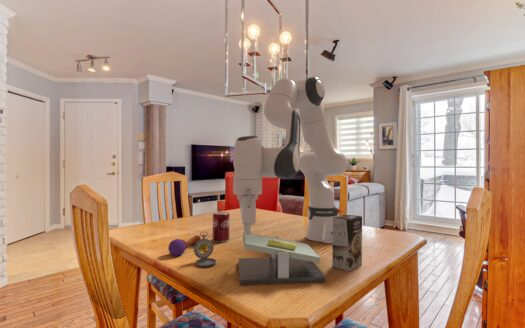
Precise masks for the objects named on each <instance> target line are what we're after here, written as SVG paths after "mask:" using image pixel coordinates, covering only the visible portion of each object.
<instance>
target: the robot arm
mask: <svg viewBox="0 0 525 328" xmlns="http://www.w3.org/2000/svg"><path fill="white" fill-rule="evenodd" d="M324 98H325V86H324V83H323V82H322V80H321V79H320V78H319V77H317V76H316V77H314V76H312V77H307V78H304V79H299V80H295V81H293V80H292V79H290V78H280V79H279V80H277V81H276V82H275V83H274V85H273V86H272V88H271V89H270V91H269V93H268V96H267V98H266V101H265V104H264V107H263V113H264V117H265V119H266V120H267V121H268V122H269V123H270V124H271V125H273V126H274V127H277V128H279V129H280V128H281V129H284V130H285V141H284V145H282V146H280V147H279V146H278V147H265V146H263V145H262V141H261V137H260V136H258V135H247V136H240V137H237V138H236V139H235V143H234V148H233V162H232V163H233V168H234V173H233V174H234V175H233V177H232V178H233V179H232V181H233V182H232V194H233V195H235V196H237V197H236V199H237V200H238V201H239V203H238V204H239V211H240V217H241V220H242V225H243V233H244V234H245V235H250V233H251V228H252V225H256V223H257V213H256V212H257V208H256V204H257V203H256V201H257V200H258V199H259V196H260V195H262V194H263V178H264V177H265V178H278V179H285V180H291V179H293V177H295V176H296V175H297V174H298V173H299V171H301V173H303V175H304V177H305V181H306V183H307V187H308V206H307V207H308V209H307V218H308V223H307V230H306V234H305V239H307V240H309V241H314V242H318V243H319V242H321V243H324V244H333V217H337V216H339V214H342V212H343V210H342V208H338V207H335V190H334V188H333V186H332V185H330V183H329V182H328V179H327V177H337V176H341V175H343V174H344V173H346V171H347V168H348V159H347V157H346V156H345V154H344V153H343V152H341V151H340V150H338V148H337V147H336V145H335V144H334V143H333V140H332V139H331V136H330V133H329V130H328V129H329V128H328V124H327V119H326V114H325V111H324V108H323V105H322V101H324ZM297 110H298V111H297ZM301 132H302V136H303V141H304V142H305V143H306V144H307V145H308V146H309V147H310V148H311V150H312V152H308V153H304V154H303V155H301V154H300V145H301V144H300V143H301ZM300 155H301V157H300Z"/></svg>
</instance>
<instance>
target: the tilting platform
mask: <svg viewBox="0 0 525 328" xmlns="http://www.w3.org/2000/svg"><path fill="white" fill-rule="evenodd" d="M273 237H274V236H269V235H268V236H267V235H262V234H258V233H251V232H250V235H245V234H244V232H243V233H242V241H243V242H242V243H243V248H244V250H247V251H253V252H257V253H262V254H269V255H270V254H273V255H278V252H289V258H295V259H300V260H306V261H311V262H314V263H318V264H320V261H321V257H320V256H319V254H317V252H315V250H314V249H313V248H312V247H311V246H310V245H309V244H308V243H304V242H299V241H295V240H288V239H282V238H279V239H278V238H273Z"/></svg>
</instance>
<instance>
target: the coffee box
mask: <svg viewBox="0 0 525 328" xmlns="http://www.w3.org/2000/svg"><path fill="white" fill-rule="evenodd" d="M331 256H332V260H331V262H332V265H331V267H333V268H336V269H340V270H343V271H346V272H351V271H353V270H355V269H356V268H358V267H360V266H362V265H363V216H361V215H353V214H342V215H338V216H337V217H333V243H332V255H331Z"/></svg>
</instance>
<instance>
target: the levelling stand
mask: <svg viewBox="0 0 525 328" xmlns="http://www.w3.org/2000/svg"><path fill="white" fill-rule="evenodd" d="M272 237H273V238H278V239H280V237H279V236H272ZM238 273H239V286H240V285H242V286H258V284H266V285H280V284H279V283H290V284H311V282H312V283H326V276H325V275H324V273H323V272H322V270H321V269H320V268H319V267H318V266H317V265H316V264H315V262H311V261H306V260H300V259H295V258H289V252H278V255H273V254H269V256H268V257H244V258H243V257H242V258H241V257H240V258H238ZM277 283H278V284H277Z"/></svg>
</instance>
